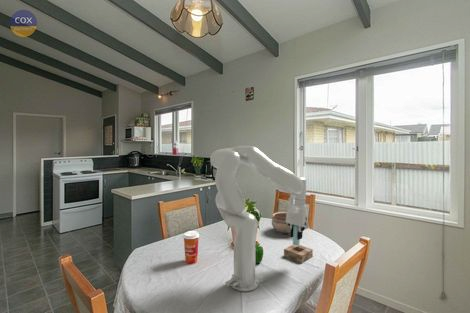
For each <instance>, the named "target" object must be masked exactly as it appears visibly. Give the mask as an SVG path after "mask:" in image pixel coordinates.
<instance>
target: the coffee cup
mask: <svg viewBox="0 0 470 313" xmlns="http://www.w3.org/2000/svg"><path fill="white" fill-rule="evenodd" d="M182 237H183V244H184V260H185V263H186V264H187V265H194V264H196V263H197V262H198V256H199V255H198V252H199V251H198V250H199V237H200V234H199V232H198V231H195V230H189V231H185V232H184V233H183V235H182Z"/></svg>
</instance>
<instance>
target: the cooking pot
mask: <svg viewBox="0 0 470 313" xmlns="http://www.w3.org/2000/svg"><path fill="white" fill-rule="evenodd" d="M286 213H287V211H279V212H277V211H276V212H274V213H273V214H272V219H271V226H272V227H273V229H274V230H275V231H277V232H278V233H280V234H281V235H291V229H290V227H289V225H288V224H287V223H286V222H285V220H286Z"/></svg>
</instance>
